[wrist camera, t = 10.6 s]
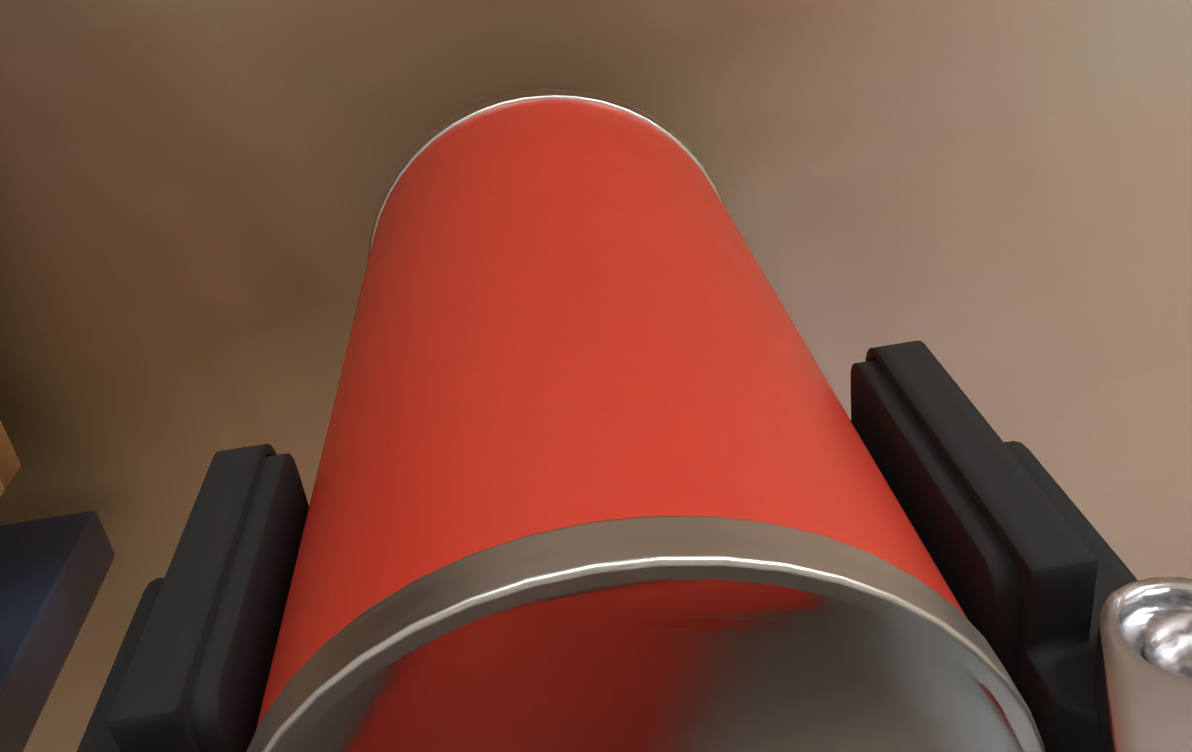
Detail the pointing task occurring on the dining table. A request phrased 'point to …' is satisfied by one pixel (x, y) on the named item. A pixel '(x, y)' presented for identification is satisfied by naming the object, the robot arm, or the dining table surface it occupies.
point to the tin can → (602, 484)
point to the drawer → (41, 603)
